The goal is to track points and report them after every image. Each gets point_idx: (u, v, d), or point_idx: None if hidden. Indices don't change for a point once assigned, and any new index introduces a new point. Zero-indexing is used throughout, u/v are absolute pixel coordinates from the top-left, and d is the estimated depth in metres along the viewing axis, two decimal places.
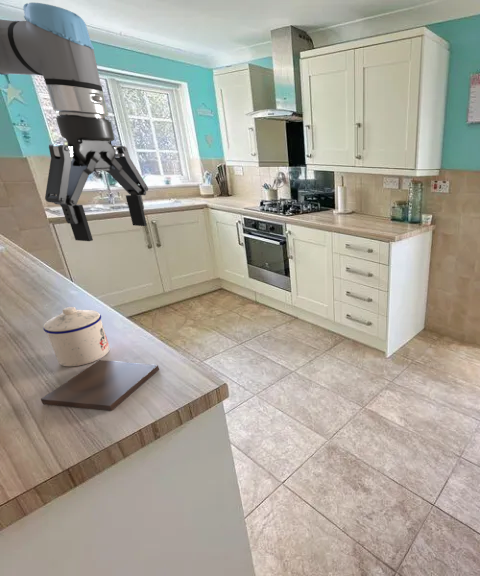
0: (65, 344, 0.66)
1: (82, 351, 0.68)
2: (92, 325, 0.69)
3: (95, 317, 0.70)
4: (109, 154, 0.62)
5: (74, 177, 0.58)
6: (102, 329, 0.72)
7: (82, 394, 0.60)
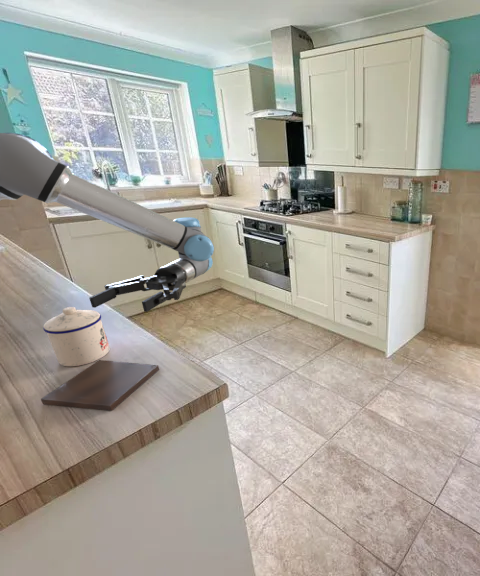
0: (65, 344, 0.66)
1: (82, 351, 0.68)
2: (92, 325, 0.69)
3: (95, 317, 0.70)
4: None
5: None
6: (102, 329, 0.72)
7: (82, 394, 0.60)
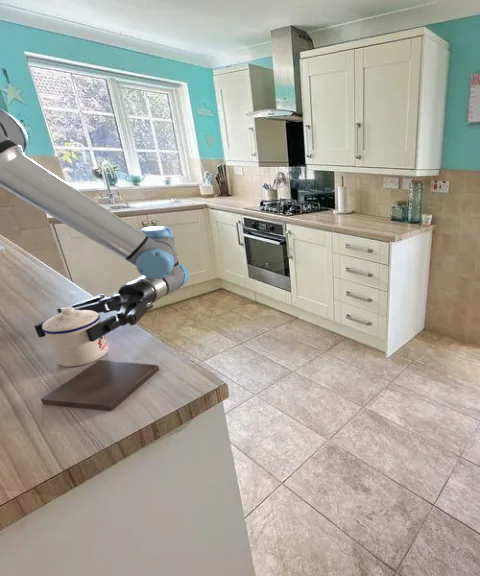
0: (63, 344, 0.66)
1: (80, 352, 0.68)
2: (90, 325, 0.68)
3: (93, 317, 0.69)
4: None
5: (128, 311, 0.79)
6: None
7: (82, 394, 0.60)
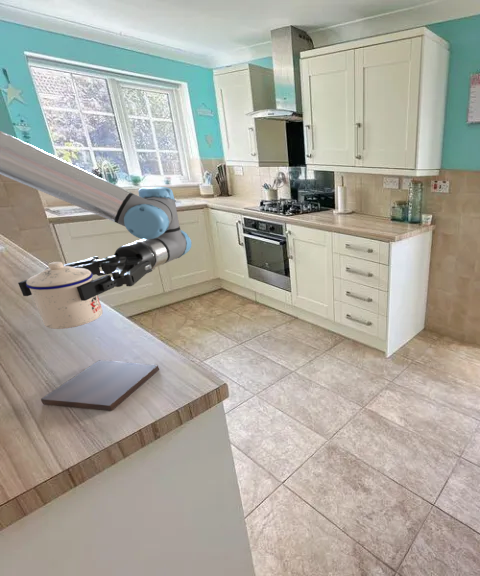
0: (51, 302, 0.58)
1: (70, 312, 0.60)
2: (81, 282, 0.61)
3: (85, 274, 0.62)
4: None
5: (125, 273, 0.71)
6: None
7: (82, 394, 0.60)
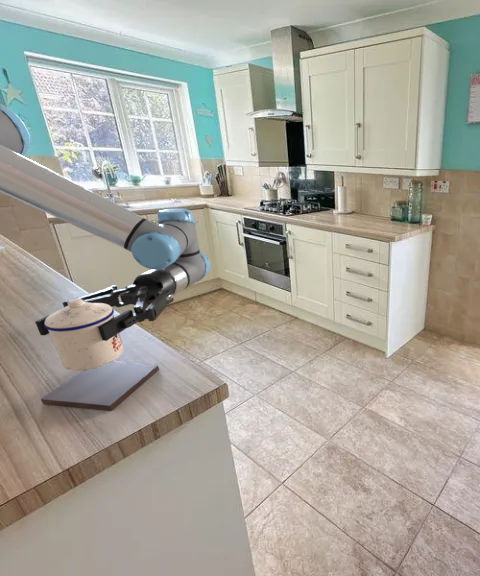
0: (71, 344, 0.54)
1: (91, 353, 0.56)
2: (103, 321, 0.56)
3: (106, 311, 0.57)
4: None
5: (146, 305, 0.66)
6: None
7: (82, 394, 0.60)
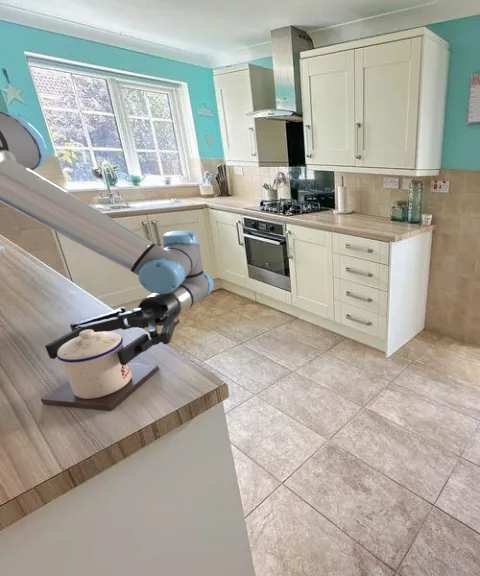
0: (82, 374, 0.57)
1: (101, 382, 0.58)
2: (113, 351, 0.59)
3: (116, 341, 0.60)
4: None
5: (156, 328, 0.69)
6: None
7: None
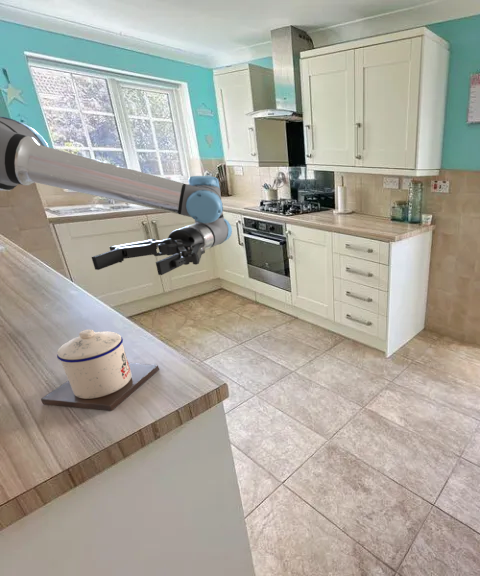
0: (82, 374, 0.57)
1: (101, 382, 0.58)
2: (113, 351, 0.59)
3: (116, 341, 0.60)
4: None
5: None
6: (123, 354, 0.62)
7: None
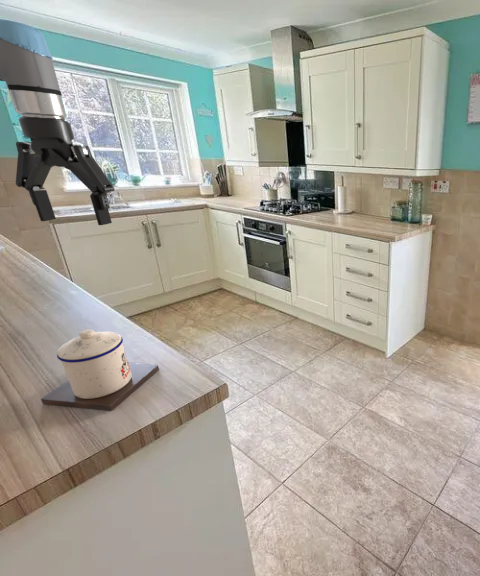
0: (82, 374, 0.57)
1: (101, 382, 0.58)
2: (113, 351, 0.59)
3: (116, 341, 0.60)
4: None
5: (84, 172, 0.70)
6: (123, 354, 0.62)
7: None
